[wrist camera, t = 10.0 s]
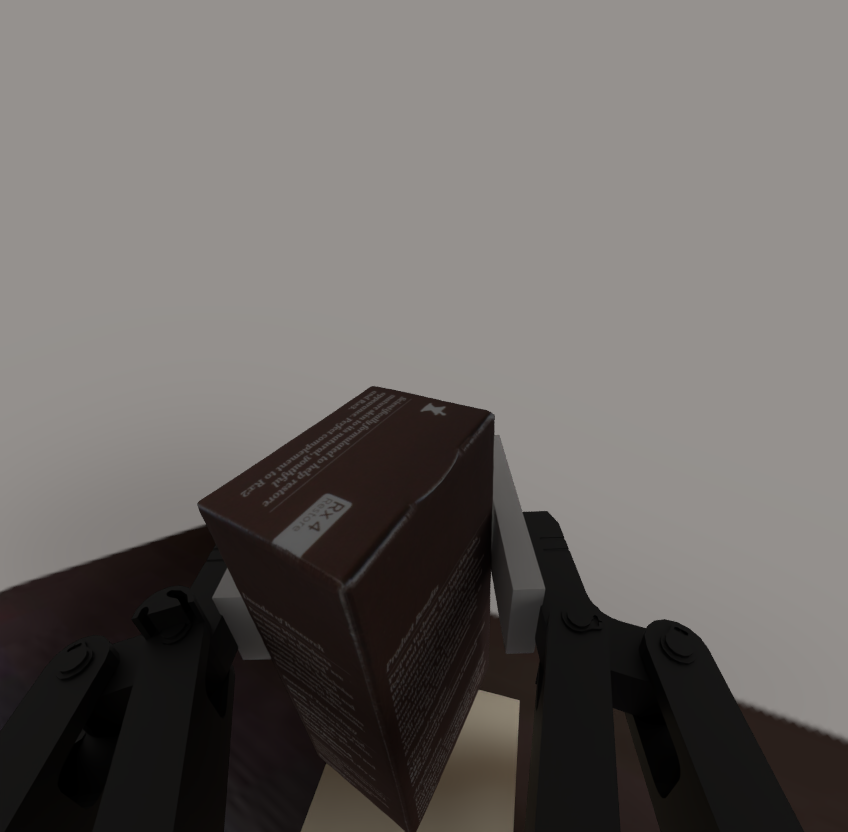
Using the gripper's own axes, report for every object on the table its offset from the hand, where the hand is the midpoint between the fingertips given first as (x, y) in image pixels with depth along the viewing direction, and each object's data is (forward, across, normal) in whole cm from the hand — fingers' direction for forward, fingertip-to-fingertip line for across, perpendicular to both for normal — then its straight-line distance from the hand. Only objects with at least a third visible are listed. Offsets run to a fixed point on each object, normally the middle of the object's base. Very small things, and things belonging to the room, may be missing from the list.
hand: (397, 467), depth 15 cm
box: (-5, 0, -8) cm, 9 cm away
